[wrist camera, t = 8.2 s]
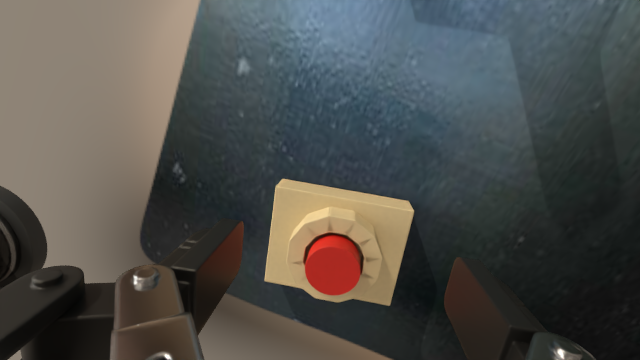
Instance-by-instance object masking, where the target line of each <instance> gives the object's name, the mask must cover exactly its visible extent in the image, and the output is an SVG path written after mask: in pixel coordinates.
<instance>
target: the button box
mask: <svg viewBox="0 0 640 360" xmlns="http://www.w3.org/2000/svg"><path fill="white" fill-rule="evenodd" d="M413 215H414V210H413V208H412V206H411V204H410V203H409V201H405V200H400V199H394V198H388V197H383V196H377V195H372V194H366V193H360V192H355V191H349V190H344V189H338V188H332V187H327V186H321V185H315V184H310V183H304V182H299V181H293V180H287V179H282V180H281V181H280V182H279V183H278V185H277V186H276V189H275V198H274V206H273V214H272V223H271V231H270V239H269V248H268V256H267V264H266V273H265V281H267V282H272V283H277V284H282V285H287V286H292V287H297V288H302V289H303V290H305V291H306V292H307V293H309V294H310V295H311V296H313V297H314V298H317V299H322V300H327V301H332V302H337V303H338V302H342V301H346V300H350V299H358V300H363V301H368V302H373V303H378V304H383V305H388V306H390V303H391V300H392V296H393V292H394V288H395V284H396V280H397V276H398V273H399V269H400V265H401V261H402V257H403V253H404V249H405V246H406V242H407V238H408V234H409V230H410V226H411V223H412V219H413ZM327 235H339V236H343V237H345V238H347V239H349V240H350V241H351V242H352V243H353V244H354V245H355V246H356V247H357V249H358V252H359V256H360V278H359V281H358V283H357V284H356V286H355V287H354V288H353V289H352V290H351V291H349V292H347V293H345V294H342V295H335V296H334V295H326V294H323V293H321V292H319V291H317V290H316V289H314V288H313V287H312V286H311V285H310V283H309V282H308V280H307V277H306V274H305V265H306V261H307V257H308V254H309V250H310V248H311V246H312V245H313V243H314V242H315V241H316V240H318V239H319V238H321V237H323V236H327Z"/></svg>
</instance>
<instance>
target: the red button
mask: <svg viewBox="0 0 640 360" xmlns="http://www.w3.org/2000/svg"><path fill="white" fill-rule="evenodd" d="M305 274H306V277H307V280H308V282H309V283H310V285H311V286H312V287H313V288H314V289H316V290H317V291H319V292H321V293H323V294H326V295H334V296H335V295H342V294H345V293H347V292H349V291H351V290H352V289H353V288H354V287H355V286H356V284H357V283H358V281H359V278H360V256H359V252H358V249H357V247H356V246H355V245H354V244H353V243H352V242H351V241H350V240H349V239H347V238H345V237H343V236H339V235H327V236H323V237H321V238H319V239H318V240H316V241H315V242H314V243H313V245H312V246H311V248H310V250H309V254H308V257H307V261H306V265H305Z"/></svg>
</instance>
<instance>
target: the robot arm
mask: <svg viewBox="0 0 640 360" xmlns="http://www.w3.org/2000/svg"><path fill="white" fill-rule="evenodd" d="M243 229H244V225H243V222H242V221H238V220H232V219H226V218H222V219H221V220H220V221H219V222H218V223H217V224H216V225H214V226H213V227H212V228H211V229H208V228H205V229H203V230H201V231H198V232H196V233H194V234H193V235H191V236H190V237H189V238H188V239H187V240H186V242H183V243H182V244H181V245H180V246H179V248H178V247H177V248H176V249H175V250H174V251H173V252H172V253H170V254H169V255H168V256H167V257H166V258H165V259H163V260H162V261H161V262H160V263H159V264H158V265H156V264H153V265H143V266H139V267H135V268H133V269H130V270H128V271H126V272H125V273H123V274H122V275H120V276H119V277H118V279H117V280H116V282H115V283H90V284H85V283H84V273H83V271H82V270H81V269H79V268H77V267H74V266H53V267H48V268H43V269H39V270H36V271H33V272H31V273H28V274H26V275H24V276H22V277H20V278H19V279H17V280H15V281H13V282H12V283H10V284H8V285H6V286H5V287H3V288H1V289H0V360H7V359H9V358H10V357H11V356H12V355H14V354H15V353H16V352H17V351H18V350H21V355H22V359H21V360H204V357H203V354H202V349H201V346H200V343H199V339H198V334H199V333H200V331H201V330H202V328H203V327H204V325H205V323H206V322H207V320H208V319H209V317H210V316H211V314H212V313H213V311H214V309H215V308H216V306H217V305H218V303H219V302H220V300H221V298H222V297H223V295H224V294H225V292H226V291H227V289H228V288H229V286H230V284H231V283H232V281H233V280H234V278H235V277H236V275H237V273H238V271H239V268H240V264H241V257H242V243H243ZM20 257H21V252H20V245H19V242H18V239H17V236H16V234H15V232H14V231H13V229H12V227H11V226H10V224H9V223H8V222H7V221H6V219H5V218H4V217H3V216H2V215H1V214H0V281H2V280H4V279H6V278H8V277H10V276H11V275H12V274H13V273H14V272H15V271H16V270H17V268H18V266H19V263H20ZM444 306H445V311H446V313H447V315H448V318H449V320H450V322H451V324H452V326H453V328H454V331H455V333H456V335H457V337H458V339H459V341H460V344H461V346H462V348H463V350H464V352H465V354H466V357H467V359H468V360H596V359H595V358H594V357H593V356H592V355H591V354H590V353H589V352H587V351H586V350H585V349H583V348H582V347H580V346H579V345H577V344H576V343H574V342H572V341H570V340H569V339H566V338H564V337H562V336H559V335H557V334H553V333H549V332H547V330H546V329H545V328H544V327H543V326H542V325H541V323H540V322H539V321H538V320H537V319H536V318H535V317H534V315H533V314H532V313H531V312H530V311H529V310H528V308H527V307H525V305H524V304H523V303H522V301H521V300H520V299H518V298H517V296H516V294H515V293H514V292H513V291H512V290H511V289H510V287H509V286H507V285H506V284H505V283H503V282H502V281H500V280H499V279H498V278H496V277H495V276H493V275H492V274H491V272H490V271H489V270H488V269H487V268H486V266H485V265H484V264H483V263H482V262H481V261H480V260H474V259H468V258H462V257H457V258H456V259H455V261H454V264H453V267H452V271H451V274H450V278H449V281H448V285H447V288H446V292H445V297H444Z"/></svg>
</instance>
